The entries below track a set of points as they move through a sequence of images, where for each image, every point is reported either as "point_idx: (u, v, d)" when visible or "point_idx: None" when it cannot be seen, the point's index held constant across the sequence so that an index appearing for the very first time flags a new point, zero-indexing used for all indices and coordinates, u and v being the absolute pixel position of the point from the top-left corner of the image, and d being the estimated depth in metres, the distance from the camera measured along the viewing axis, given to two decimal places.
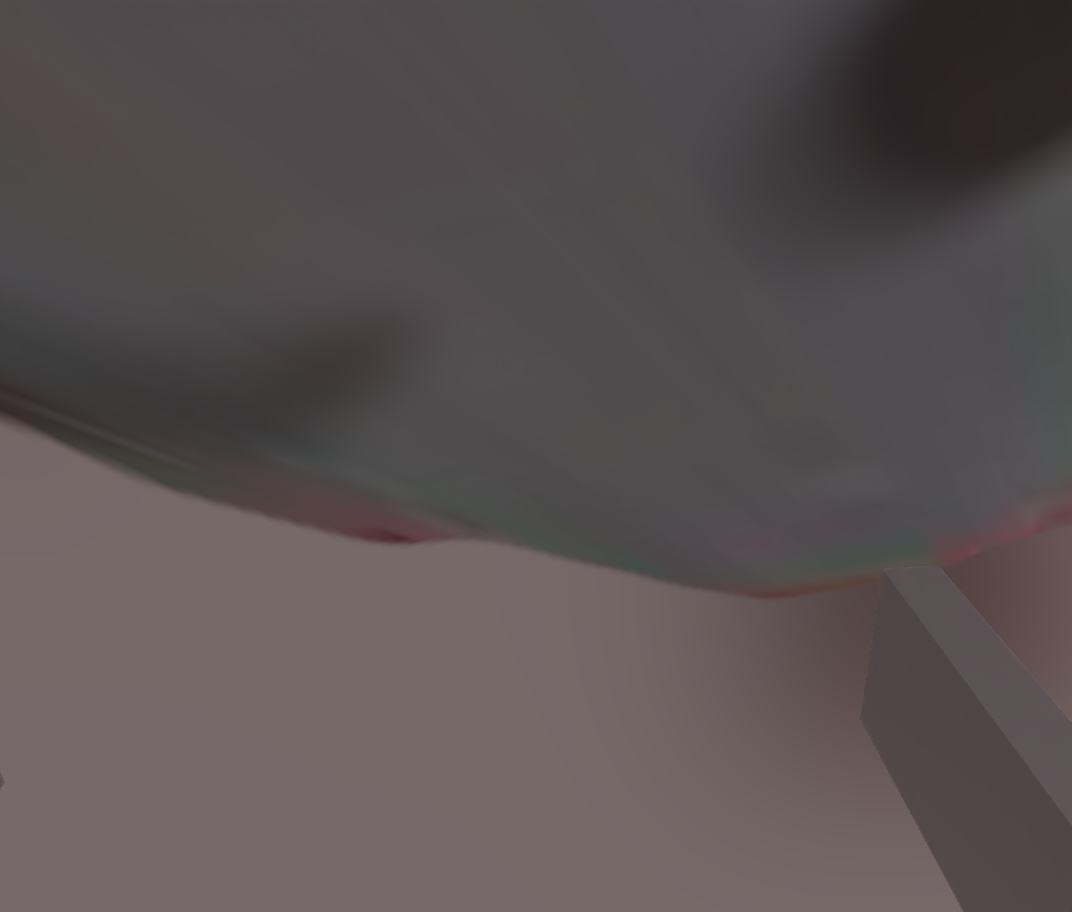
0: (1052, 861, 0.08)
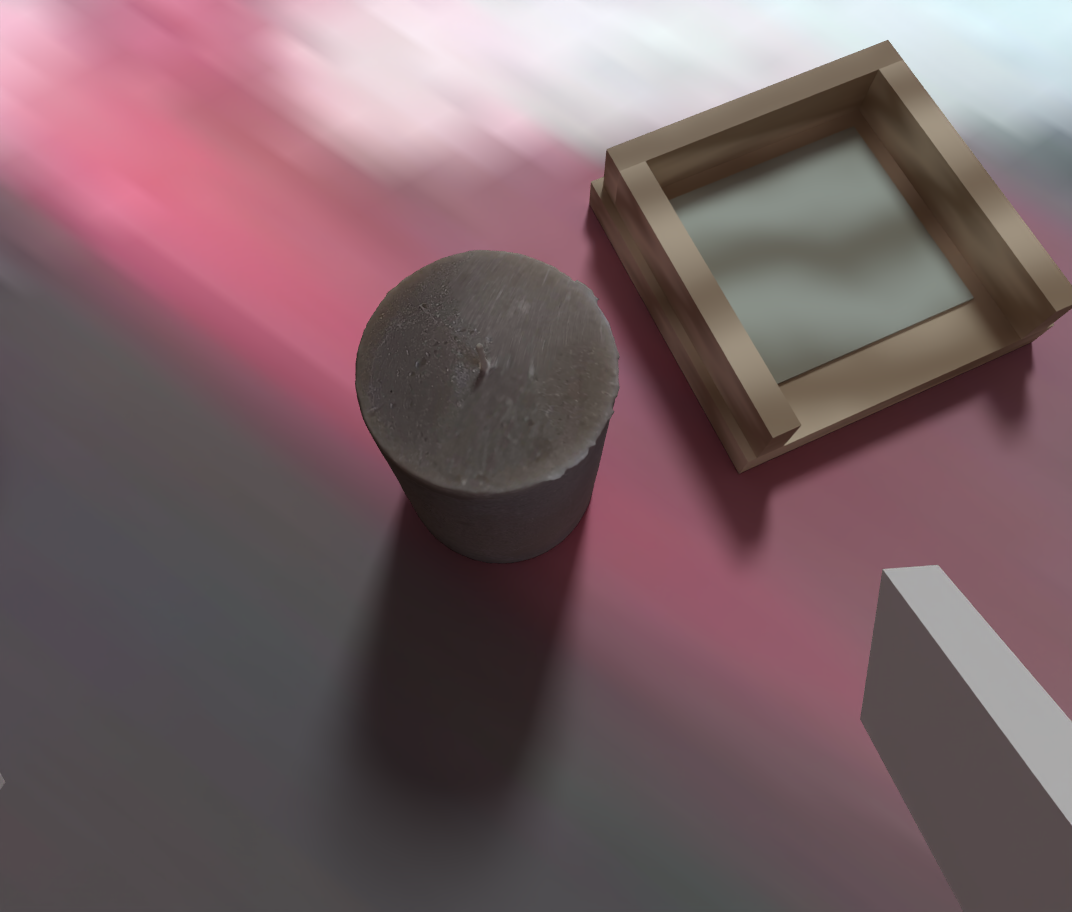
0: (1052, 861, 0.08)
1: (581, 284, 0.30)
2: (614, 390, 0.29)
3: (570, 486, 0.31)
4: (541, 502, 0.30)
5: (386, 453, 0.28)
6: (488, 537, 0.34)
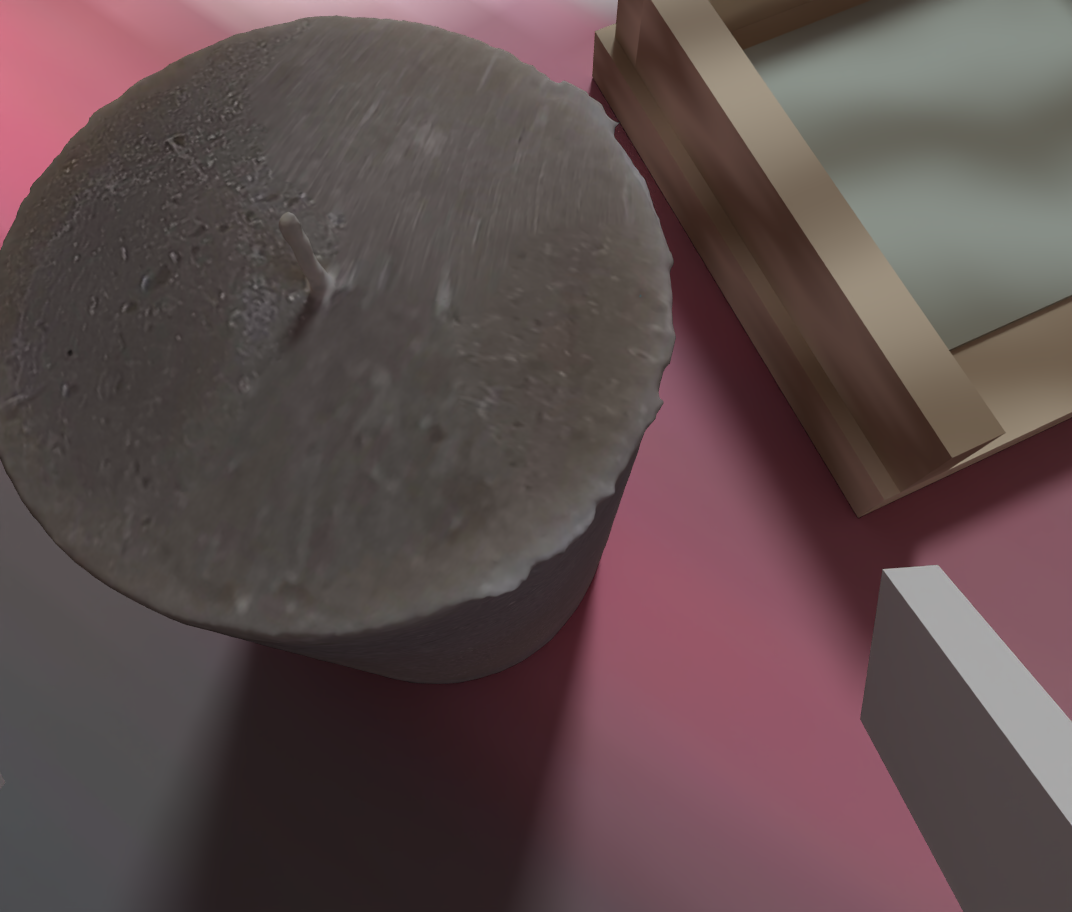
0: (1052, 861, 0.08)
1: (574, 89, 0.12)
2: (663, 346, 0.11)
3: (552, 583, 0.13)
4: (480, 627, 0.12)
5: (38, 521, 0.10)
6: (386, 671, 0.16)
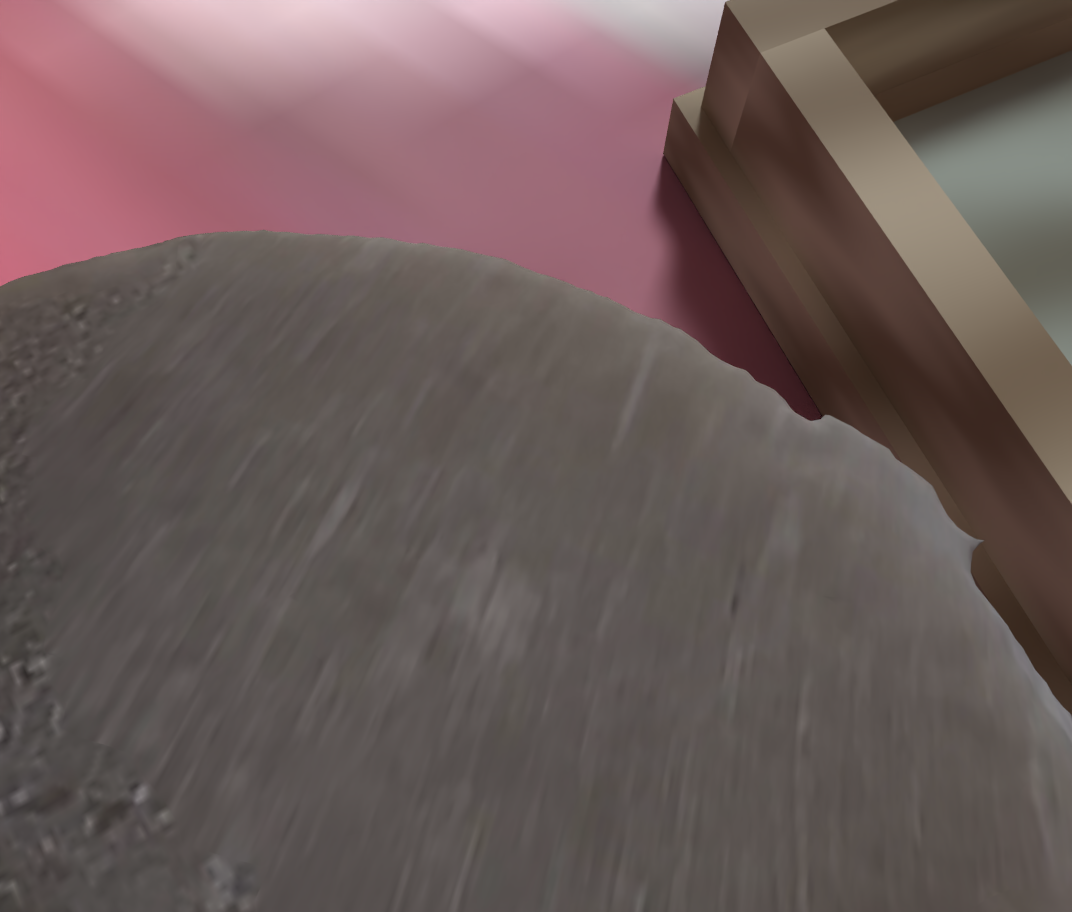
0: None
1: (858, 442, 0.05)
2: None
3: None
4: None
5: None
6: None
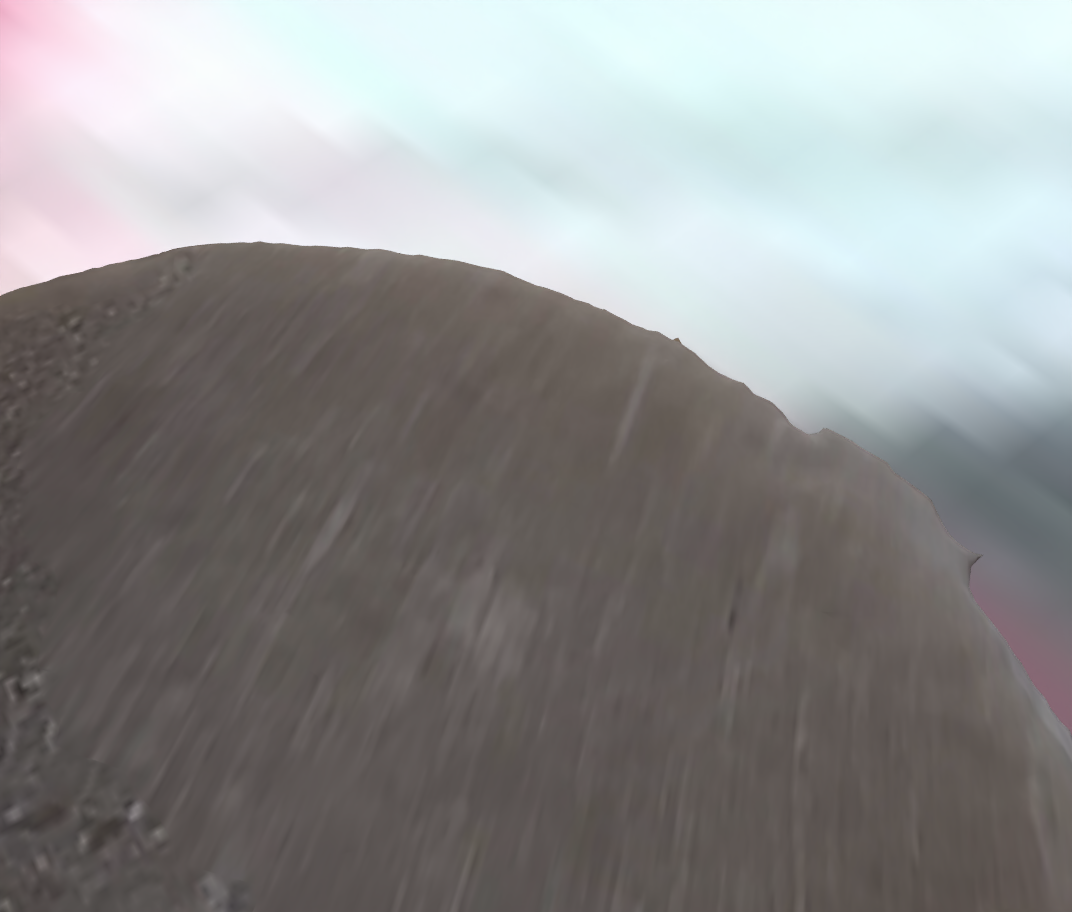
0: None
1: (857, 456, 0.05)
2: None
3: None
4: None
5: None
6: None
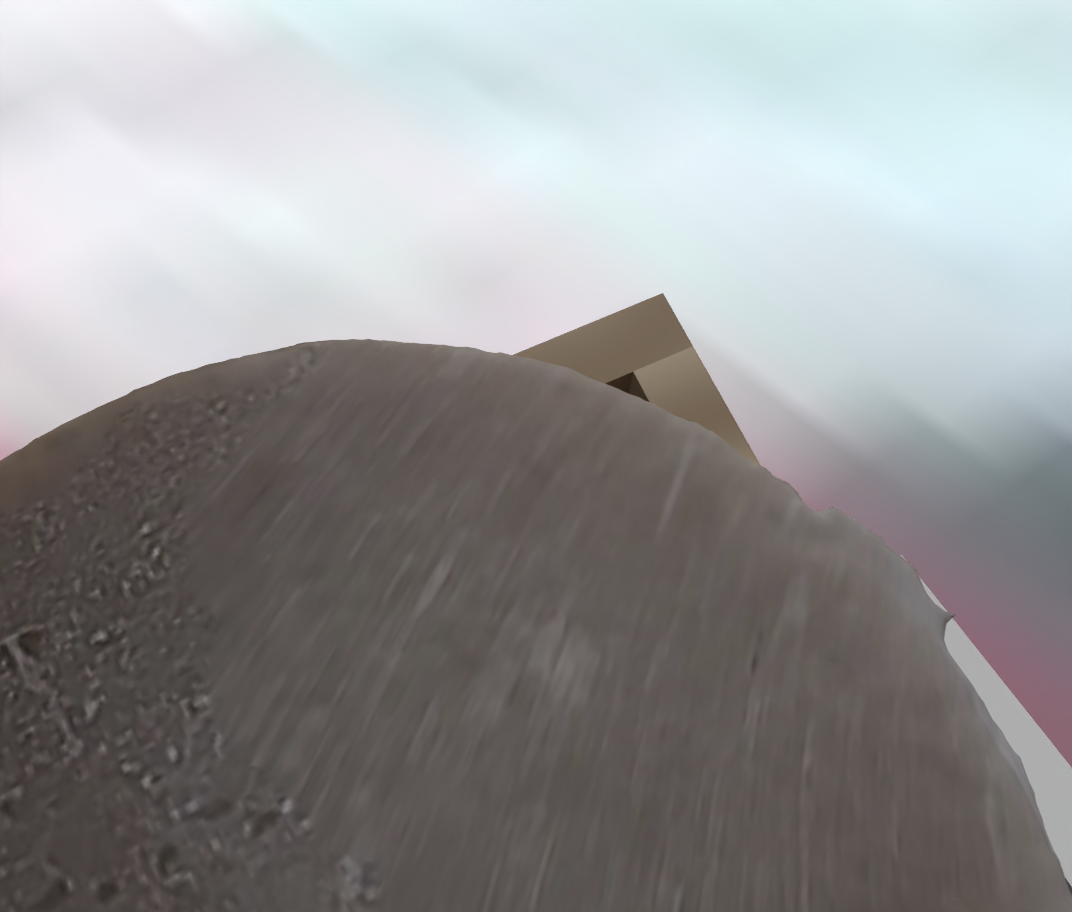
0: None
1: (856, 531, 0.06)
2: None
3: None
4: None
5: None
6: None
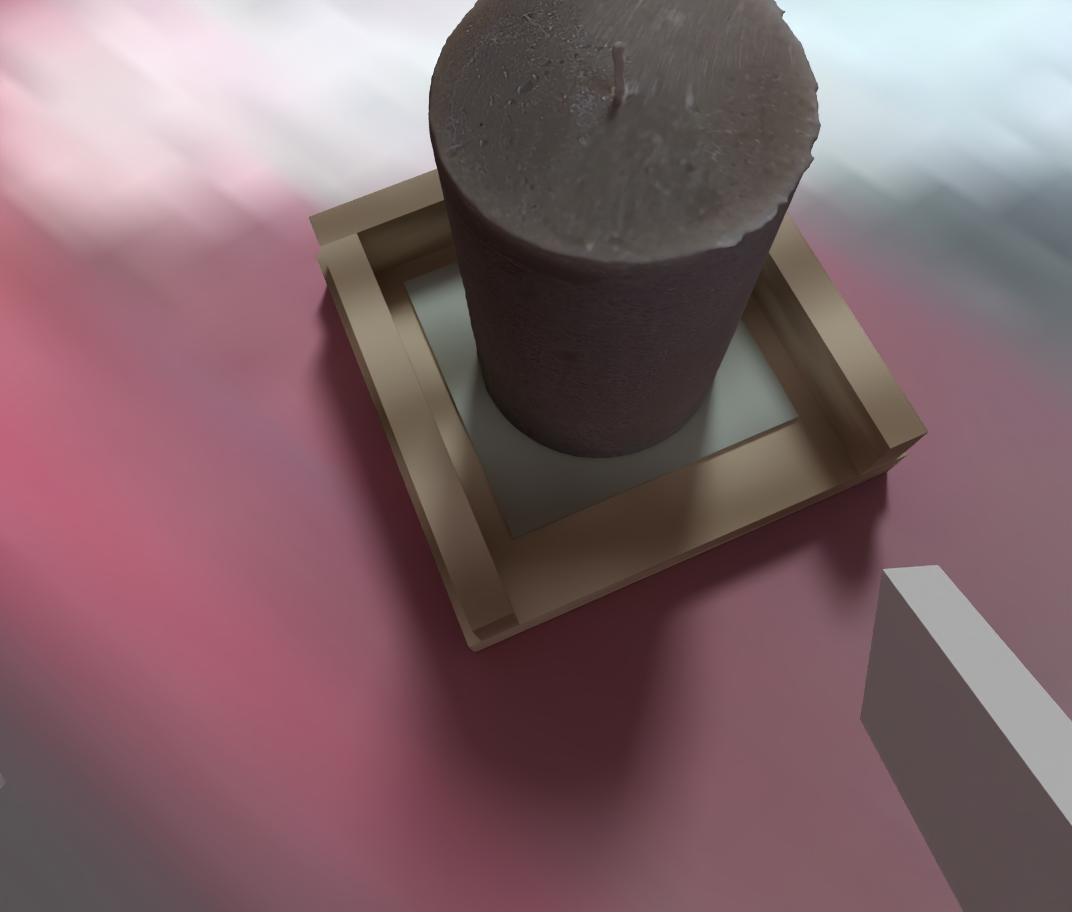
0: (1052, 861, 0.08)
1: None
2: (813, 129, 0.19)
3: (729, 294, 0.21)
4: (689, 310, 0.21)
5: (472, 207, 0.19)
6: (595, 391, 0.25)
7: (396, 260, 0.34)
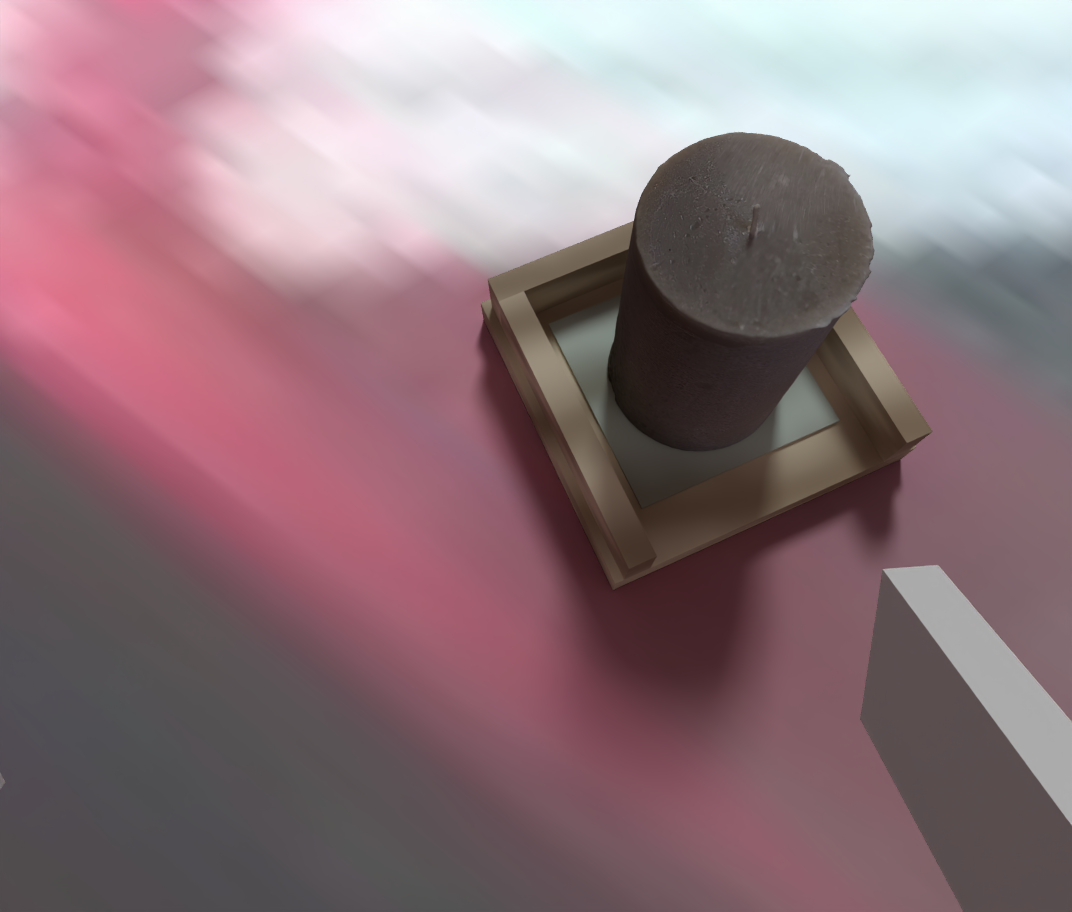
0: (1052, 861, 0.08)
1: (833, 162, 0.33)
2: (870, 253, 0.32)
3: (813, 348, 0.34)
4: (790, 360, 0.33)
5: (669, 302, 0.31)
6: (715, 407, 0.37)
7: (543, 307, 0.46)
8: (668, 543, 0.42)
